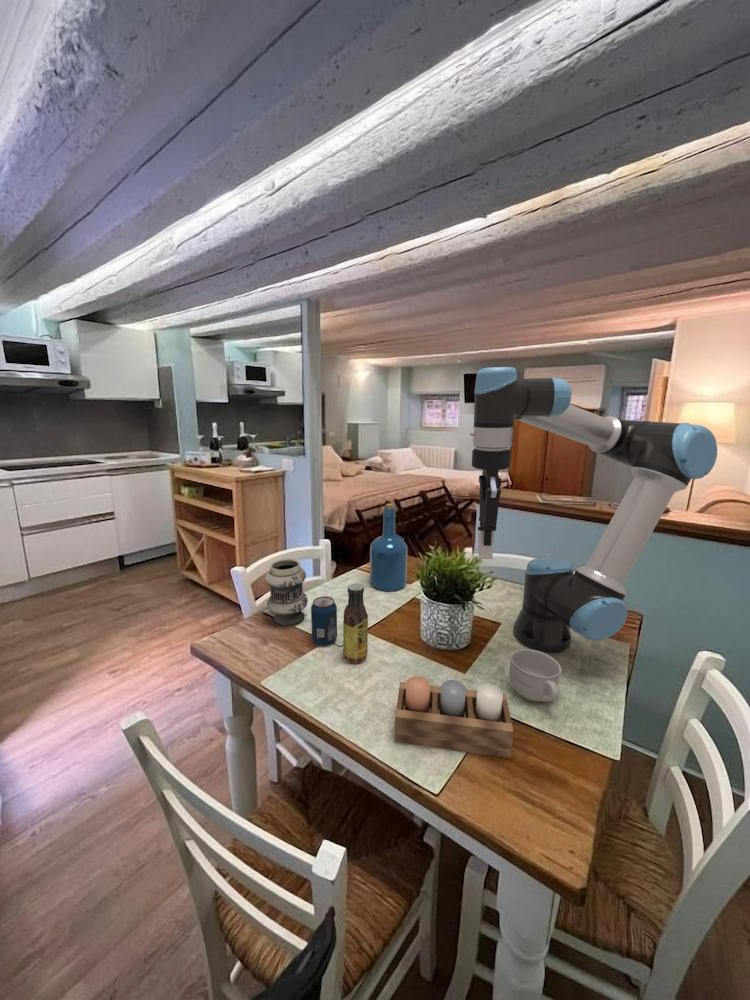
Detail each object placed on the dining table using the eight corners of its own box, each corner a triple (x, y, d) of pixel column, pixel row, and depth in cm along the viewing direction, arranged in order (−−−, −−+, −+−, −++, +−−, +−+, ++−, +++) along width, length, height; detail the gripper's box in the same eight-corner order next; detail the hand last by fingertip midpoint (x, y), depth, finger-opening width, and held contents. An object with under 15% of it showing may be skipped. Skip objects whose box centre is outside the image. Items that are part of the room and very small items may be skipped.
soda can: (317, 632, 117) (315, 594, 114) (340, 635, 116) (339, 596, 113) (308, 646, 110) (307, 606, 107) (332, 649, 109) (332, 609, 106)
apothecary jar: (280, 606, 131) (277, 554, 127) (314, 612, 128) (313, 558, 123) (260, 626, 120) (256, 569, 115) (297, 632, 117) (294, 574, 112)
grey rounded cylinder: (463, 706, 84) (465, 681, 82) (464, 724, 79) (466, 698, 78) (439, 703, 85) (441, 678, 83) (439, 721, 80) (441, 695, 79)
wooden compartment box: (503, 718, 86) (505, 694, 85) (510, 758, 76) (513, 731, 75) (399, 705, 89) (400, 681, 88) (394, 742, 80) (395, 716, 78)
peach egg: (429, 702, 85) (430, 677, 84) (428, 719, 80) (429, 693, 79) (406, 699, 86) (407, 674, 84) (404, 716, 81) (405, 691, 80)
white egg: (498, 710, 83) (500, 685, 81) (501, 729, 78) (504, 702, 77) (474, 707, 84) (476, 682, 82) (476, 725, 79) (478, 699, 78)
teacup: (502, 675, 99) (504, 646, 97) (546, 676, 99) (550, 647, 97) (519, 719, 86) (523, 686, 84) (571, 720, 86) (576, 688, 84)
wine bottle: (394, 596, 138) (396, 511, 131) (362, 586, 145) (362, 505, 138) (413, 581, 149) (416, 502, 142) (382, 573, 156) (384, 497, 149)
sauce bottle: (361, 667, 102) (362, 595, 97) (339, 662, 104) (338, 591, 99) (371, 652, 108) (371, 584, 103) (349, 647, 110) (349, 580, 105)
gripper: (469, 444, 88) (465, 546, 94) (475, 452, 76) (470, 569, 82) (505, 444, 87) (498, 547, 93) (517, 452, 75) (508, 571, 81)
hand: (485, 557), depth 88 cm, fingers closed
